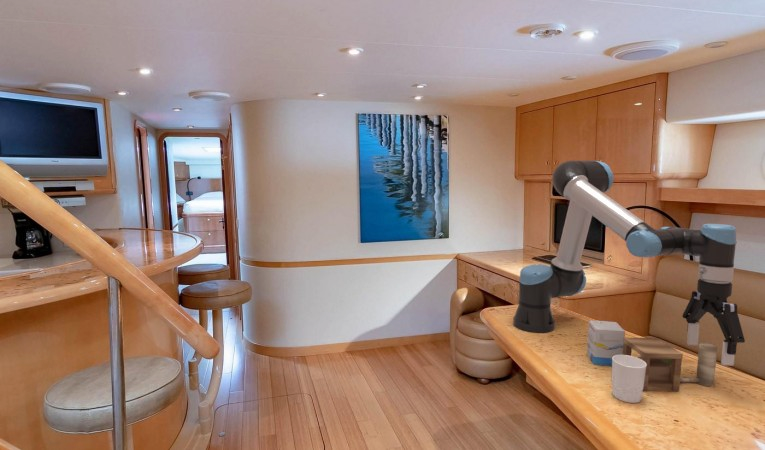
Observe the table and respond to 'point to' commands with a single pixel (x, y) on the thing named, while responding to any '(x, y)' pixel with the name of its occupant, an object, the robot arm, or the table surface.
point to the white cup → (628, 378)
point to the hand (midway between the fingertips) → (708, 354)
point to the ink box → (604, 342)
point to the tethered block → (705, 367)
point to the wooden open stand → (656, 350)
